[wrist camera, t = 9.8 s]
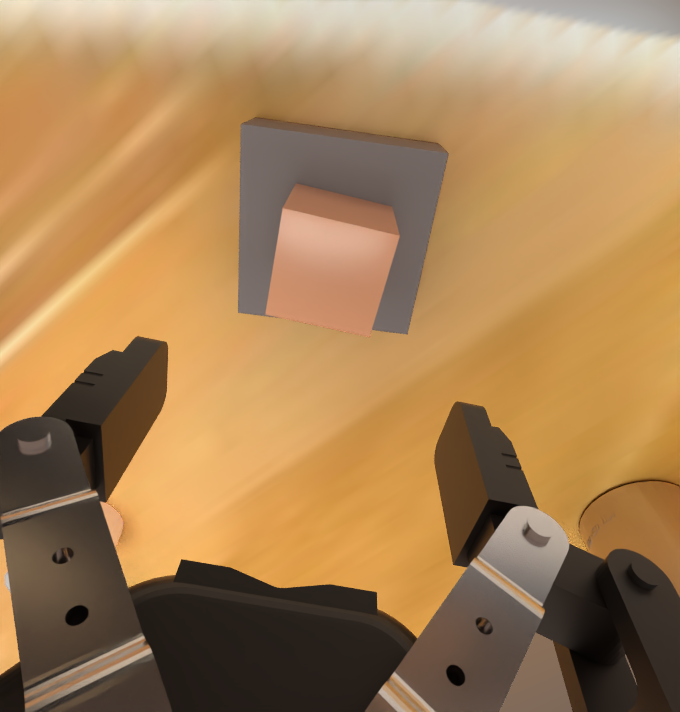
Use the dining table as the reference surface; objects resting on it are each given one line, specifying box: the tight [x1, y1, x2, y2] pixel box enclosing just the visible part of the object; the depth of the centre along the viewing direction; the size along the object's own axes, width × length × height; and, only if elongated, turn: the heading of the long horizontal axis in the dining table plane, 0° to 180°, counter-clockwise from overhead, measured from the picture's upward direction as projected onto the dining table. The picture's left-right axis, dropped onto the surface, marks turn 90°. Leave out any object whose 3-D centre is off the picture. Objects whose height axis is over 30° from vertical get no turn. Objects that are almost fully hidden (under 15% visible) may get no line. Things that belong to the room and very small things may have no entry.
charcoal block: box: [238, 117, 448, 334], centre depth 27 cm, size 10×10×4 cm
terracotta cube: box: [265, 183, 400, 337], centre depth 23 cm, size 5×5×5 cm
